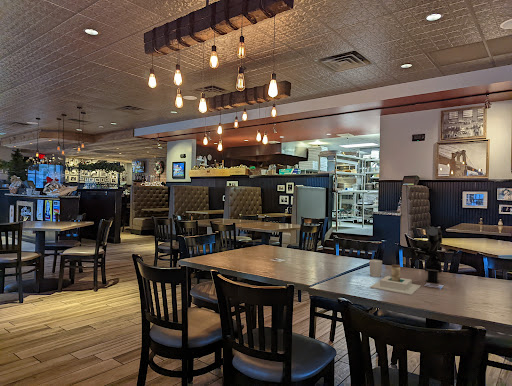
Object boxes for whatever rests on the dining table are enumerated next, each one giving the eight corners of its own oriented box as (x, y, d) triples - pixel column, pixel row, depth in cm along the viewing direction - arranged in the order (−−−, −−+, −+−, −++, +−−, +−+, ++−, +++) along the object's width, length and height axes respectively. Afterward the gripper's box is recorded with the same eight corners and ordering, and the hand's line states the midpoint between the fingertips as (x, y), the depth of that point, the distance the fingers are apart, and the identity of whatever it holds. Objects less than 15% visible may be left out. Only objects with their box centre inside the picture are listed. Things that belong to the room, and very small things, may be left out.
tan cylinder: (398, 285, 204) (398, 264, 204) (401, 287, 199) (401, 266, 199) (390, 284, 204) (390, 264, 204) (392, 287, 199) (393, 266, 199)
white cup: (373, 277, 224) (374, 262, 224) (366, 274, 231) (367, 259, 231) (384, 277, 226) (384, 261, 226) (377, 274, 234) (377, 259, 234)
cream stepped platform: (382, 280, 218) (382, 273, 218) (421, 286, 205) (421, 279, 205) (369, 287, 199) (370, 280, 199) (411, 295, 186) (411, 287, 186)
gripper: (411, 234, 216) (398, 253, 210) (439, 237, 199) (426, 258, 194) (419, 246, 219) (406, 265, 214) (447, 250, 203) (435, 271, 198)
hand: (418, 264), depth 205 cm, fingers open, 9 cm apart
